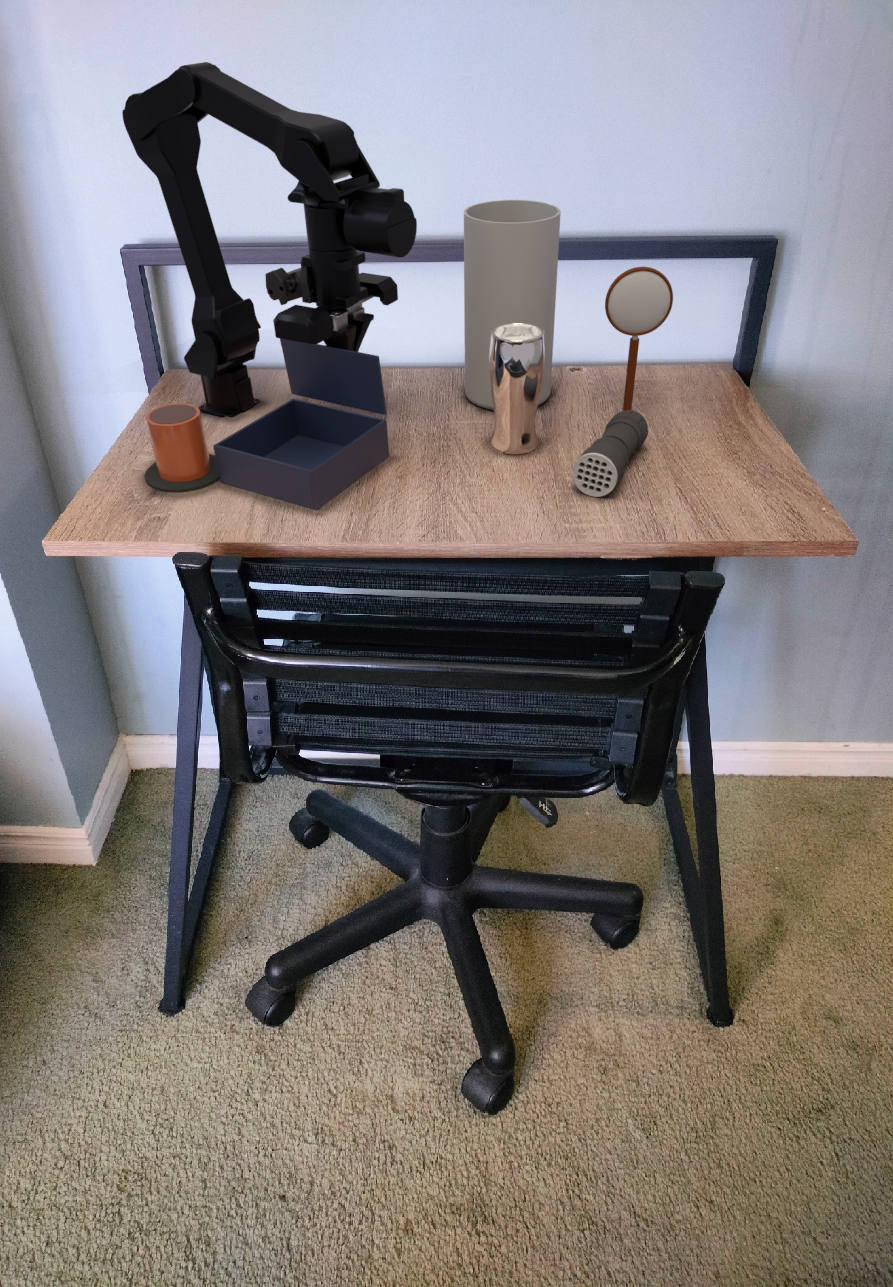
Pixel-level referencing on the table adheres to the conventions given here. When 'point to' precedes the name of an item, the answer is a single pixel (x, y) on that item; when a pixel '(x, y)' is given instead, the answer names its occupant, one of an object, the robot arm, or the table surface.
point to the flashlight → (610, 454)
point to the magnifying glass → (637, 312)
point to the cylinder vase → (507, 282)
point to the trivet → (177, 487)
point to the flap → (335, 375)
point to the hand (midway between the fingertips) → (344, 374)
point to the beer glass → (516, 384)
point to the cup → (178, 442)
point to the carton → (302, 453)
